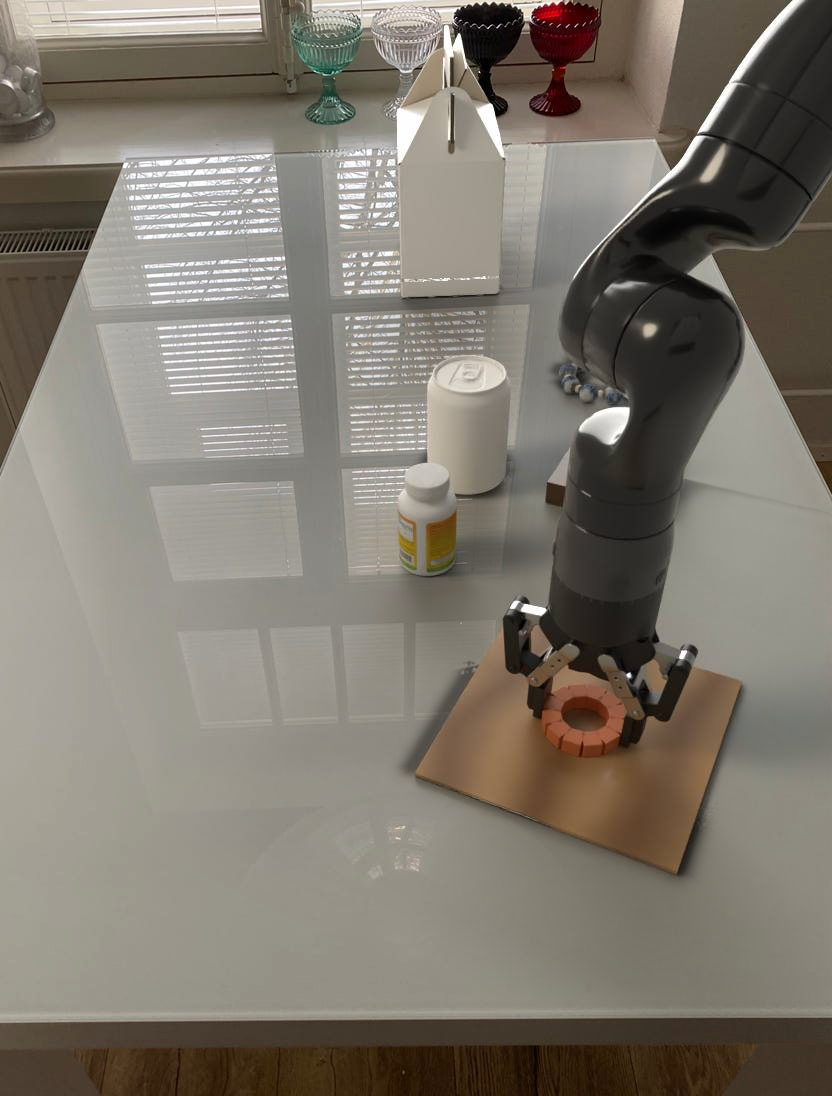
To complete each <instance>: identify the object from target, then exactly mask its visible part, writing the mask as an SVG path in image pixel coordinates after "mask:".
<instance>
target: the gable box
mask: <svg viewBox="0 0 832 1096" xmlns="http://www.w3.org/2000/svg"><path fill="white" fill-rule="evenodd" d="M443 31H444V32H443V47H440V48H438V49H435V50H433V52H431V54H430V55H429V56H428V58H427V60H426V62H425V63H424V65H423V66H422V69H421V70H420V72H419V74H418V75H417V77H416V79H415V80H414V81H413V84H412V86H411V87H410V89H409V91H408V93H407V94H406V96H405V97H404V100H403V101H402V102H401V105H400V106H399V108H398V109H397V110H396V129H397V132H396V133H397V171H398V172H397V177H398V179H397V181H398V222H399V224H398V225H399V263H400V264H399V265H400V266H399V267H400V279H401V278H402V279H423V278H432V279H440V278H442V279H444V278H450V279H452V278H468V277H483V276H486V277H488V276H498V275H500V276H501V265H502V244H503V225H504V205H505V204H504V203H505V181H506V163H507V161H506V160H507V159H506V155H505V151H504V146H503V143H502V139H501V133H500V130H499V125H498V121H497V119H496V114H495V110H494V106H493V104H492V103H491V102H490V101H489V98H488V97H487V96H486V93H485V91H484V90H483V89H482V86H481V85H480V84H479V82H478V80H477V78H476V76H475V75H474V73H473V72H472V70H471V68H470V66H469V65H468V63H467V59H466V56H465V51H464V46H463V45H464V44H463V40H462V36H461V33H457V36H456V38H455V41H454V43H453V44H452V39H451V33H450V27H449V25H444V30H443ZM500 282H501V277H500V278H496V279H472V280H448V281H424V282H401V281H400V297H401V296H402V297H408V296H432V295H457V294H481V293H498V292H499V293H500V287H501V285H500ZM499 293H498V294H499Z"/></svg>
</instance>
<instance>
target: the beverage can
mask: <svg viewBox="0 0 832 1096" xmlns="http://www.w3.org/2000/svg"><path fill="white" fill-rule="evenodd" d="M507 374H508V373H507V369H506V367H505V366H504V365H503V364H502V363H501V362H499V361H498V360H496V359H493V358H490V357H488V356H483V355H474V354H464V355H456V356H451V357H450V358H449V357H448V358H447V359H444V360H442V361H440V362H439V363H437V365H435V367H434V368H433V370H432V373H431V376H430V378H429V379H428V381H427V385H426V386H427V388H426V398H427V399H426V400H427V401H426V408H427V409H426V412H427V414H426V417H427V418H426V422H427V423H426V425H427V426H426V428H427V429H426V431H427V432H426V433H427V434H426V436H427V438H426V439H427V441H426V442H427V446H426V448H427V450H426V451H427V453H426V454H427V455H426V456H427V459H426V460H427V462H426V463H435V464H438V465H441V466H443V467H445V468H446V469H447V470H448V472H449V475H450V486H449V488H450V489H451V490H452V491H453V492H454V494H455V495H465V496H466V495H467V496H469V495H478V494H482V493H485V492H489V491H490V490H493V489H495V488H496V487H498V486H499V485H500V484H501V483H502V482H503V480H504V479H505V477H506V474H507V473H506V472H507V457H508V456H507V455H508V441H509V440H508V439H509V426H510V425H509V423H510V410H511V409H510V408H511V393H512V392H511V391H512V384H511V381H510V378H509V377H508V375H507Z"/></svg>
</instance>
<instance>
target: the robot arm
mask: <svg viewBox="0 0 832 1096" xmlns="http://www.w3.org/2000/svg"><path fill="white" fill-rule="evenodd" d="M831 177H832V0H792V1H791V2H790V3H789V4H788V5H787V6H786V7H785V8H784V9H783V10H782V11H781V12H780V13H779V14H778V15H777V17H776V18H775V19H774V20H773V21H772V22H771V24H770V25H768V26H767V28H766V29H765V30H764V32H762V34H761V35H760V37H759V38H758V39H757V40H756V41H755V43H754V44H753V46H752V47H751V48H750V50H749V51H748V53H747V54H746V56H745V58H743V60H742V61H741V63H740V64H739V66H738V67H737V69H736V70H735V72H734V74H732V77H731V78H730V79H729V81H728V83H727V85H726V86H725V87H724V90H723V91H722V93H721V95H720V96H719V97H718V99H717V100H716V101H715V104H714V106H713V107H712V109H711V110H710V112H709V114H708V115H707V117H706V119H705V120H704V122H703V123H702V125H701V126H700V128H699V129H698V131H697V133H696V136H695V137H694V138H693V140H692V141H691V143H690V144H689V146H688V148H687V150H686V151H685V153H684V155H683V157H682V158H681V159H680V160H679V162H678V163H677V164H676V165H675V167H673V168H672V170H671V171H670V172H669V173H667V174H666V175H665V177H663V178H662V180H660V181H659V182H658V183H657V184H656V185H655V186H654V187H653V188H652V189H651V190H650V191H649V192H647V194H646V195H645V196H644V197H643V198H642V199H641V200H640V201H639V202H638V203H637V204H636V205H635V206H634V207H633V208H632V210H631V211H629V212H628V214H626V216H625V217H624V218H623V219H622V220H621V221H620V222H618V223H617V225H616V226H615V227H614V228H613V229H612V230H610V232H608V234H607V235H606V236H605V237H604V238H603V239H602V240H601V242H599V243H598V244H597V245H596V246H595V248H593V250H592V251H591V252H590V253H589V254H588V256H587V257H585V259H584V260H583V262H582V263H581V265H580V266H579V268H578V269H577V270H576V272H575V273H574V275H573V276H572V279H571V280H570V282H569V284H568V286H567V288H566V290H565V293H564V296H563V299H562V302H561V305H560V309H559V312H558V313H559V314H558V322H557V334H558V341H559V346H560V348H561V351H562V352H563V354H564V355H565V356H566V357H567V359H569V361H571V363H572V362H573V363H574V364H575V365H576V366H578V367H579V368H581V369H582V370H584V371H583V372H585V373H587V374H589V376H591V377H593V378H595V379H596V380H597V381H599V382H600V383H603V384H604V385H606V386H607V387H610V388H612V389H613V390H615V391H616V392H618V393H620V394H621V395H623V396H622V397H624V398H626V399H627V401H628V406H611V407H606V408H603V409H600V410H597V411H595V412H593V413H591V414H590V415H588V416H586V417H585V418H584V419H583V420H582V421H581V422H580V424H579V425H578V426H577V428H576V430H575V433H574V435H573V438H572V441H571V444H570V446H571V448H570V447H569V448H570V455H569V463H568V471H567V479H566V487H565V496H564V503H563V507H562V509H561V512H560V514H559V519H558V523H557V526H556V531H555V532H556V533H555V537H554V540H553V544H552V552H551V553H552V554H551V555H552V557H553V558H552V565H551V566H552V567H551V575H550V583H549V584H550V585H549V590H548V591H549V592H548V602H547V605H546V607H542V606H536V605H531V602H530V600H529V598H528V597H527V596H525V595H522V594H518V595H516V596H515V597H514V598H513V600H512V602H511V603H510V605H509V607H508V608H507V610H506V612H505V613H504V615H503V617H502V626H503V633H504V651H505V667H506V669H507V671H508V672H510V673H512V674H518V673H521V674H523V675H524V676H525V677H526V678H527V681H528V683H529V687H528V697H527V705H528V708H529V709H531V710H533V717H536V718H539V719H542V711H543V707H544V705H545V703H546V701H547V700H548V698H549V696H551V692H552V684H553V676H555V675H556V674H557V673H558V672H559V671H560V670H561V669H562V668H564V667H565V666H566V665H568V669H570V670H574V671H577V672H583V673H589V674H591V675H593V676H595V677H597V678H599V679H602V680H605V681H609V682H610V684H611V686H612V688H613V690H614V693H615V695H616V697H617V698H621V699H622V701H623V703H624V705H625V708H626V710H627V712H626V714H625V717H624V722H623V727H622V732H621V737H620V742H619V746H622V747H625V748H628V747H629V745H630V743H633V744H637V743H638V742H639V741H640V739H641V736H642V734H643V731H644V729H645V725H646V721H647V717H650V716H654V717H655V718H656V719H657V720H658V721H661V722H667V721H669V720H670V718H671V716H672V713H673V711H674V709H675V707H676V704H677V702H678V700H679V697H680V695H681V693H682V690H683V688H684V686H685V684H686V681H687V679H688V677H689V674H690V672H691V669H692V667H694V664H695V661H696V658H697V656H698V654H699V650H698V648H697V646H695V645H693V644H691V643H684V644H682V645H681V646H680V648H677V647H674V646H671V645H669V644H666V643H663V642H661V641H660V636H659V635H658V632H657V628H656V627H657V621H658V617H659V612H660V608H661V604H662V599H663V595H664V590H665V585H666V581H667V577H668V571H669V568H670V563H671V558H672V553H673V548H674V543H675V526H676V516H677V512H678V507H679V503H680V497H681V493H682V488H683V483H684V479H685V474H686V469H687V466H688V464H689V462H690V460H691V458H692V456H693V454H694V452H695V450H696V449H697V447H698V445H699V443H700V442H701V440H702V437H703V436H704V434H705V432H706V430H707V428H708V426H709V425H710V422H711V421H712V420H713V418H714V415H715V414H716V412H717V410H718V408H719V407H720V405H721V404H722V402H723V401H724V399H725V397H726V396H727V394H728V393H729V390H730V389H731V387H732V385H733V384H734V382H735V380H736V377H737V376H738V374H739V372H740V369H741V366H742V364H743V361H744V357H745V351H746V330H745V329H746V328H745V325H744V319H743V316H742V313H741V310H740V309H739V307H738V305H737V303H735V301H734V299H732V297H730V296H729V295H728V294H727V293H726V292H724V291H722V290H720V289H718V288H716V287H715V286H713V285H712V284H709V283H707V282H705V281H703V280H700V279H698V278H697V277H694V276H692V275H690V274H689V273H690V272H692V270H694V269H695V268H696V267H697V266H698V265H700V264H701V263H702V262H703V261H704V260H705V259H707V258H708V257H709V256H711V255H712V254H713V253H715V252H718V251H722V250H727V249H729V250H744V251H750V252H751V251H752V252H765V251H770V250H773V249H775V248H778V247H779V246H780V245H782V244H783V243H784V242H785V241H786V240H787V239H788V238H789V237H790V235H792V233H793V232H794V230H795V229H796V228H797V226H799V224H800V222H801V221H802V220H803V218H804V217H805V216H806V214H807V212H808V211H809V209H810V208H811V206H812V204H813V203H814V202H815V200H817V198H818V197H819V195H820V194H821V192H822V191H823V189H824V188H825V186H826V185H827V183H828V182H829V180H830V179H831ZM535 625H540V628H541V630H542V632H543V633H544V635H545V636H546V638H547V639H548V641H549V642H550V644H551V645H550V646H549V647H548V648H547V649H546V650H545V651H544V652H543V653H542V654H541V655H540V656H538V655H536V654H534V653H533V652H531V632H532V630H533V628H534V627H535ZM652 659H654V660H656V661H657V662H658V663H659V666H660V668H659V670H660V673H661V674H662V679H664V680H667V682H666V684H665V687H664V689H663V692H655V691H652V688H651V686H650V684H649V681H648V679H647V677H646V666H645V664H646V663H648V662H650V661H651V660H652Z"/></svg>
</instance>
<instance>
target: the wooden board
mask: <svg viewBox="0 0 832 1096" xmlns="http://www.w3.org/2000/svg"><path fill="white" fill-rule="evenodd" d="M550 645H551V644H550V642H549V641H548V639H547V638H546V636H545V635H544V633H543V632H542V630H541V628H540V625H535V627H534V628H533V630H532V632H531V652H533V653H534V654H536V655H538V656H540V655H541V654H542V653H543V652H544V651H545V650H546V649H547V648H548V647H549V646H550ZM645 666H646V677H647V679H648V681H649V684H650V686H651V688H652V691H655V692H663V689H664V687H665V684H666V682H667V680H664V679H662V674H661V673H660V670H659V668H660V666H659V663H658V662H657V661H656V660H654V659H652V660H651V661H650V662H648V663H646V664H645ZM577 684H586V687H587V688H588V686H589V684H590V685H593V686H597V687H600V688H603V689H606V693H608V692H611V693H612V694H613V695H614V696H616V695H615V693H614V690H613V688H612V686H611V684H610V682H609V681H605V680H602V679H599V678H597V677H595V676H593V675H591V674H589V673H583V672H577V671H574V670H570V669H568V665H566V666H565V667H564V668H562V669H561V670H560V671H559V672H558V673H557V674H556V675H555V676H553V684H552V692H551V693H553V692H554V691H556V690H558V689H560V688H562V687H564V686H566V687H567V688H568V685H577ZM742 684H743V680H741V679H738V678H733V677H731V676H727V675H723V674H720V673H717V672H714V671H710V670H707V669H704V668H700V667H697V666H693V667H692V669H691V672H690V674H689V677H688V679H687V681H686V684H685V686H684V688H683V690H682V693H681V695H680V697H679V700H678V702H677V704H676V707H675V709H674V711H673V713H672V716H671V718H670V720H669V721H667V722H661V721H658V720H657V719H656V718H655V717H654V716H650V717H647V721H646V725H645V729H644V731H643V734H642V736H641V739H640V741H639V742H638V743H637V744H633V743H630V745H629V747H628V748H625V747H622V746H619V745H618V748H616V749H614V750H612V751H611V752H609V753H607V754H606V755H604V754H602V753H601V756H595V757H582V753H580V755H579V757H578V756H575V755H572V754H569V753H566V752H563V751H561V747H560V748H557V747H555V746H554V745H553V744H552V743H551V742H550V741H549V740H548V739H547V738H546V735H545V734H544V731H543V727H542V723H541V719H539V718H536V717H533V710H531V709H529V708H528V705H527V697H528V687H529V683H528V681H527V678H526V677H525V676H524V675H523V674H521V673H518V674H512V673H510V672H508V671H507V669H506V667H505V651H504V633H503V625H502V626H501V628H500V630H499V631H498V633H497V635H496V637H495V638H494V640H493V642H492V643H491V645H490V647H489V648H488V650H487V651H486V653H485V655H484V657H483V658H482V660H481V661H480V663H479V665H478V667H477V668H476V670H475V671H474V674H473V675H472V676H471V679H470V680H469V681H468V683H467V685H466V687H465V688H464V690H463V692H462V693H461V695H460V697H459V698H458V699H457V702H456V704H455V705H454V707H453V708H452V710H451V712H450V714H449V715H448V717H447V718H446V720H445V722H444V723H443V725H442V727H441V728H440V730H439V732H438V734H437V735H436V737H435V739H434V740H433V742H432V744H431V745H430V747H429V749H428V750H427V751H426V753H425V755H424V757H423V758H422V760H421V762H420V764H419V765H418V767H417V769H416V770H415V772H414V777H416V776H417V777H416V778H418V777H420V778H419V779H421V778H422V779H421V780H423V779H425V780H424V781H426V780H428V781H427V782H429V781H431V782H433V783H432V784H434V783H437V784H440V785H442V786H445V787H447V788H449V789H448V790H450V789H453V790H456V791H458V792H461V793H463V794H467V795H470V796H474V797H476V798H480V799H482V800H485V801H487V802H489V803H493V804H495V805H498V806H500V807H504V808H506V809H508V810H512V811H515V812H518V813H520V814H522V815H524V816H528V817H530V818H532V819H535V820H537V821H539V822H540V823H543V824H546V825H548V826H550V827H549V828H551V827H552V828H551V829H553V828H554V829H553V830H556V829H557V830H556V831H559V832H562V833H563V834H567V835H570V836H572V837H575V838H578V839H581V840H583V841H586V842H588V843H590V844H592V845H596V846H599V847H601V848H604V849H606V850H609V851H612V852H614V853H617V854H620V855H622V856H625V857H628V858H630V859H633V860H634V861H635V860H636V861H638V862H641V863H644V864H646V865H648V866H650V867H654V868H657V869H660V870H662V871H663V872H664V871H665V872H668V873H669V874H672V875H676V876H677V875H678V872H679V869H680V866H681V863H682V860H683V857H684V855H685V852H686V848H687V846H688V843H689V840H690V837H691V834H692V831H693V828H694V825H695V822H696V819H697V816H698V814H699V810H700V807H701V805H702V801H703V799H704V795H705V793H706V790H707V788H708V784H709V781H710V779H711V778H710V777H711V776H712V772H713V769H714V767H715V763H716V760H717V757H718V754H719V751H720V748H721V746H722V742H723V739H724V736H725V733H726V731H727V728H728V725H729V722H730V719H731V716H732V713H733V710H734V707H735V704H736V701H737V698H738V696H739V692H740V690H741V687H742ZM618 699H619V700H620V701H621V702H622V705H624V703H623V701H622V699H621V698H618ZM624 707H625V705H624ZM625 710H626V708H625ZM626 712H627V710H626ZM562 718H563V721H564V722H565V723H566V724H567V725H568V726H570V727H571V728H573V729H576V730H579V731H582V732H596V731H598V730H600V729H601V728H603V727H605V726H606V721H605V719H604V718H603V717H602V716H601V715H600V714H598V713H597V712H595V711H592V710H589V709H586V708H574V709H571V710H569V711H567V712H566V713H564V714H563V715H562ZM431 782H430V783H431ZM437 784H436V785H437ZM442 786H441V787H442ZM445 787H444V788H445ZM447 788H446V789H447ZM453 790H452V791H453ZM458 792H457V793H458ZM461 793H460V794H461ZM463 794H462V795H463ZM540 823H539V824H540ZM543 824H542V825H543ZM548 826H547V827H548Z"/></svg>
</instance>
